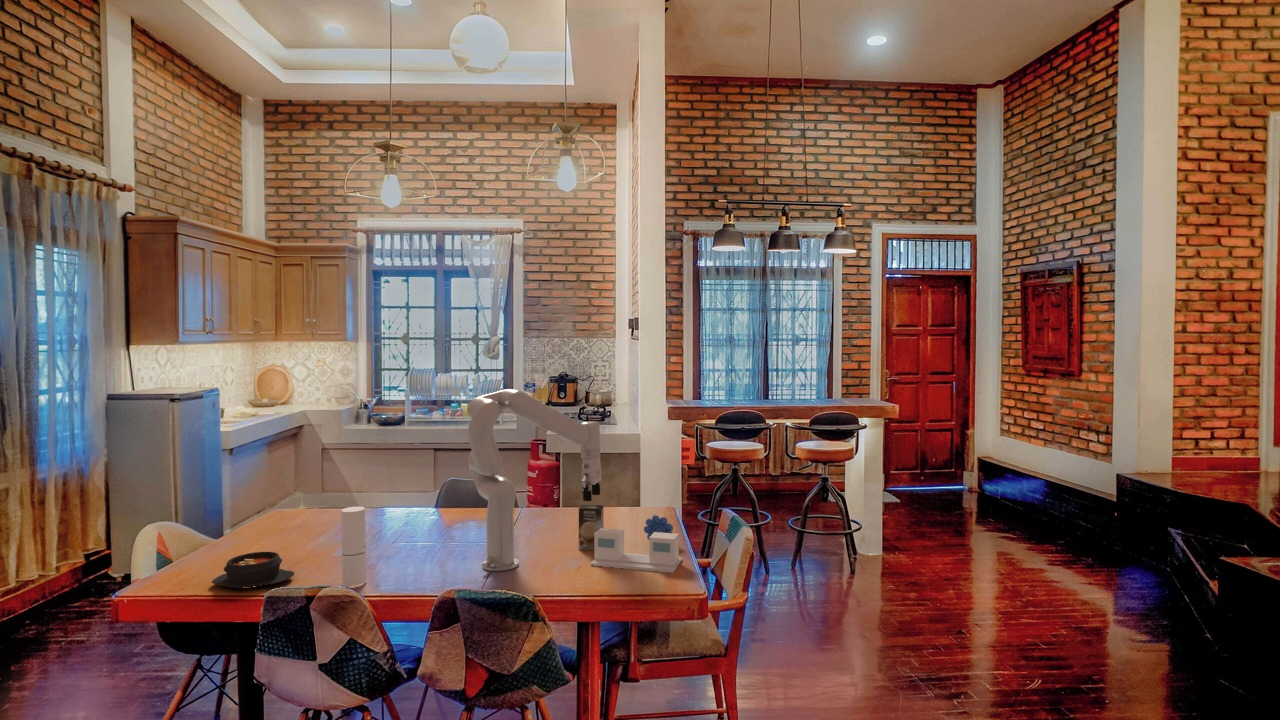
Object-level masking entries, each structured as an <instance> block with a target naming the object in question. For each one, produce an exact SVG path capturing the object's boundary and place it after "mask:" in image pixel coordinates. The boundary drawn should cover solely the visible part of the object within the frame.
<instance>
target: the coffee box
mask: <svg viewBox="0 0 1280 720" xmlns="http://www.w3.org/2000/svg"><path fill="white" fill-rule="evenodd" d="M600 528H604V505H602V504H581V505H580V506H579V508H578V550H579V551H580V550H581V551H582V550H583V551H594V533H596V532H597V531H598V530H599V529H600Z"/></svg>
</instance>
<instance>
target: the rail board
mask: <svg viewBox="0 0 1280 720" xmlns="http://www.w3.org/2000/svg"><path fill="white" fill-rule="evenodd" d="M679 535H680V534H679V533H674V532H672V533H660V532H654V533H653V534H652V535H651V536H650V537H649V540H648V546H649V548H648V551H649V554H641V553H633V552H632V553H631V552H625V530H624V529H616V528H615V529H614V528H604V527H603V528H600V529H599V530H598V531H597V532H596V533H594V550H593V551H594V558H593V560H592V561H591V562H590V565H593V566H592V567H598V566H602V567H601V568H609V567H614V568H613V569H621V568H623V570H632V569H633V570H634V571H635V570H636V571H646V572H655V571H660V572H659V573H667V572H668V573H670V574H674V572H676V569H677V568H678V566H680V564H681V562H682V560H683V559H682V557H680V556H679V555H680V550H679V549H680V548H679V546H680V544H679V543H680V542H679V538H680V536H679ZM668 573H667V574H668Z"/></svg>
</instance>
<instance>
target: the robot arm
mask: <svg viewBox="0 0 1280 720" xmlns="http://www.w3.org/2000/svg"><path fill="white" fill-rule="evenodd" d="M466 409H467V414H468V416H469V417H470V418H471V420H470V422H469V425H468V428H467V438H468V443H469V445H470V449H471V451H470V453H469V454H468V457H467V465H468V468H469V472H470V475H471V478H472V480H473V482H474V484H475V488H476V490H477V492H478V494H479V495H480V496H481V498H483V499H485V500H486V501H487V509H486V512H485V513H486V514H485V516H486V517H485V521H486V522H485V523H486V525H485V527H486V560H485V561H483V562H482V564H481V567H482V569H484V570H486V571H489V572H505V571H510V570H513V569H515V568H517V567H519V563H520V561H519V560H518V559H517V558H515V533H514V532H515V528H514V526H515V523H514V522H515V520H514V512H515V511H514V510H515V500H516V487H515V485H514V484H513V482H512V481H511V480H510V479H509V478H506V477H504V476H501V475H500V473H501V472H502V469H503V466H504V464H503V459H502V456H501V453H500V451H499V448H498V445H497V442H496V441H495V440H496V439H495V436H494V426H495V424H496V422H497V421H498V420H499V418H500V415H502V414H505V413H511V414H513V415H515V416H517V417H518V418H520V419H523V420H524V421H526V422H528V423H530V424H531V425H533V426H535V427H538V428H539V429H542V430H545V431H548V432H549V431H550V432H552V433H554V434H557V435H558V436H559V438H560V439H561V441H563V442H566V443H569V444H574V445H579V446H580V459H582V460H581V461H582V463H581V487H582V500H583V501H584V502H592V500H593V499H592V496H600V495H601V486H600V485H601V481H602V479H603V478H602V474H603V473H602V463H601V430H600V423H599V422H598V421H592V420H591V421H590V420H589V421H583V422H579V421H578V420H577V419H574V418H572V417H570V416H569V415H566V414H564V413H562V412H560V411H558V410H557V409H555V408H553V407H550V406H549V405H546V404H545V403H543V402H542V401H539V400H538V399H536V398H534V397H533V396H531V395H529V394H527V393H526V392H523V390H519V389H511V388H507V389H502V390H499V391H495V392H491V393H489V394H488V393H487V394H484V395H480V396H477V397H475V398H473V399H471V401H469V402H468V405H467V408H466Z"/></svg>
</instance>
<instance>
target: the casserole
mask: <svg viewBox="0 0 1280 720" xmlns="http://www.w3.org/2000/svg"><path fill="white" fill-rule="evenodd" d="M282 563H283V558H282V557H280V555H279V554H278V553H277V552H274V551H257V552H250V553H244V554H240V555H238V556H235V557H232V558H230V559H229V560H228V561H227V562H226V565H225V566H224V567H223V571H224V572H225V573H223V574H221V575H218V576H216V577H215V578H214V579H212V581H211V583H212V584H213V583H215V584H214V585H216V584H221V585H220V586H223V585H224V586H223V587H225V586H227V587H226V588H230V587H236V588H235V589H239V588H243V587H253V586H260V585H264V586H269V584H270V585H276V584H275V583H277V584H279V582H280V583H283V582H285V581H287V580H289V579H291V578H292V577H293V576H294V575H295V572H294V571H292V570H286V569H282V568H280V567H281V564H282ZM282 581H283V582H282ZM260 587H261V586H260Z"/></svg>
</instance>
